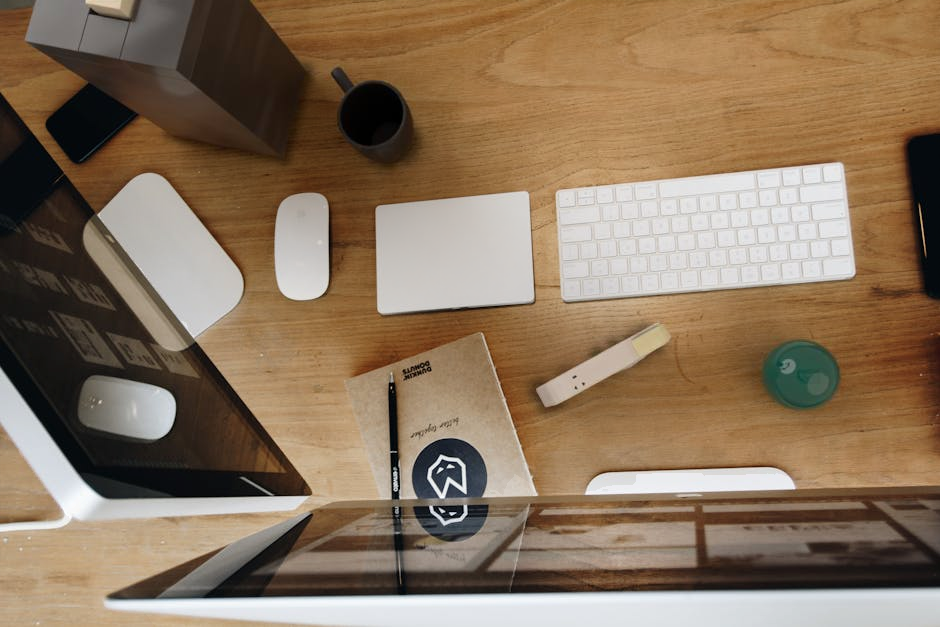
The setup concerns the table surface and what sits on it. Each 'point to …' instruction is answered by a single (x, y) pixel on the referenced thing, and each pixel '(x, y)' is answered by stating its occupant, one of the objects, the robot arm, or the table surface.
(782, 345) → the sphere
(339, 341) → the table surface
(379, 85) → the mug
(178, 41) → the piano
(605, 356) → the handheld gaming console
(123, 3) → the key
